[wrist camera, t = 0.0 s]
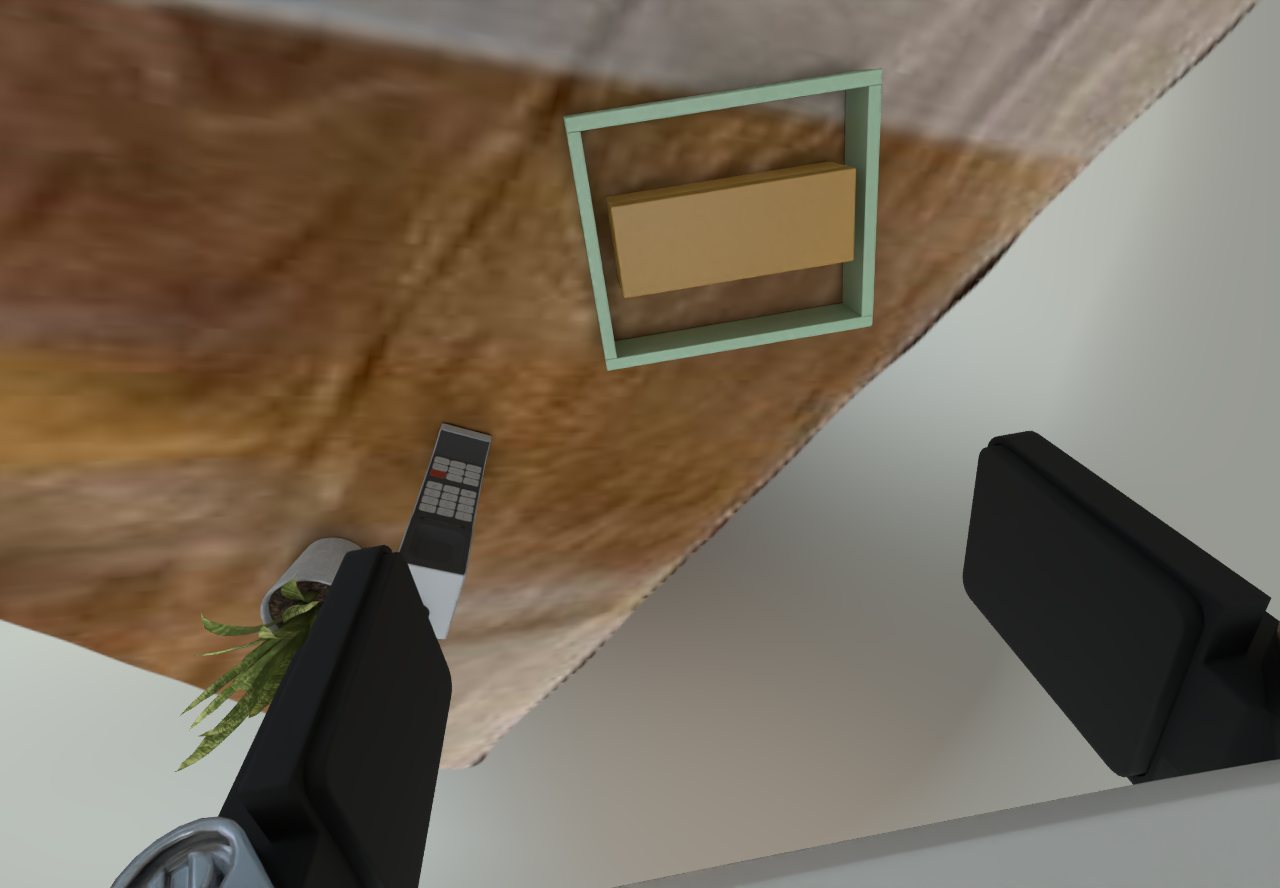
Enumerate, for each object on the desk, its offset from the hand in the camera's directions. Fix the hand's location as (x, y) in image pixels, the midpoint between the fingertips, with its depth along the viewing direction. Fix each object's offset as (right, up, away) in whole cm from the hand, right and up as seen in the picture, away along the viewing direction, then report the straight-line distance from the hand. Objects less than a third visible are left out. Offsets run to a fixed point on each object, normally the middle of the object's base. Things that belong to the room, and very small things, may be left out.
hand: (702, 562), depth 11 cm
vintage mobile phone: (-15, +1, +40) cm, 42 cm away
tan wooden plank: (+4, +17, +34) cm, 38 cm away
